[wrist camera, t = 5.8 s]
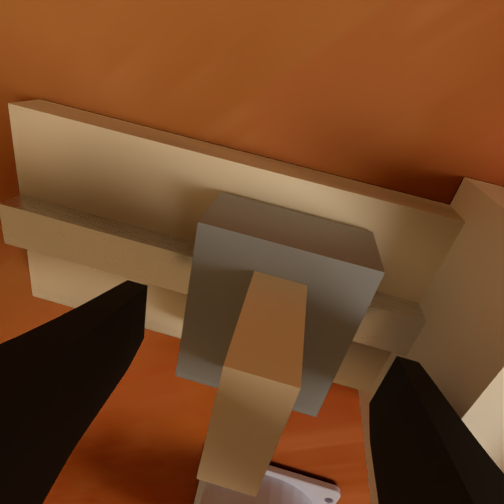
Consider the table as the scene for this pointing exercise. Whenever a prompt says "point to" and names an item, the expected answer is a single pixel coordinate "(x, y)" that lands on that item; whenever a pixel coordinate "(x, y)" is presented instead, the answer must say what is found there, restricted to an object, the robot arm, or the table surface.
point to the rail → (165, 261)
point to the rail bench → (206, 207)
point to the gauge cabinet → (464, 324)
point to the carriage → (269, 324)
